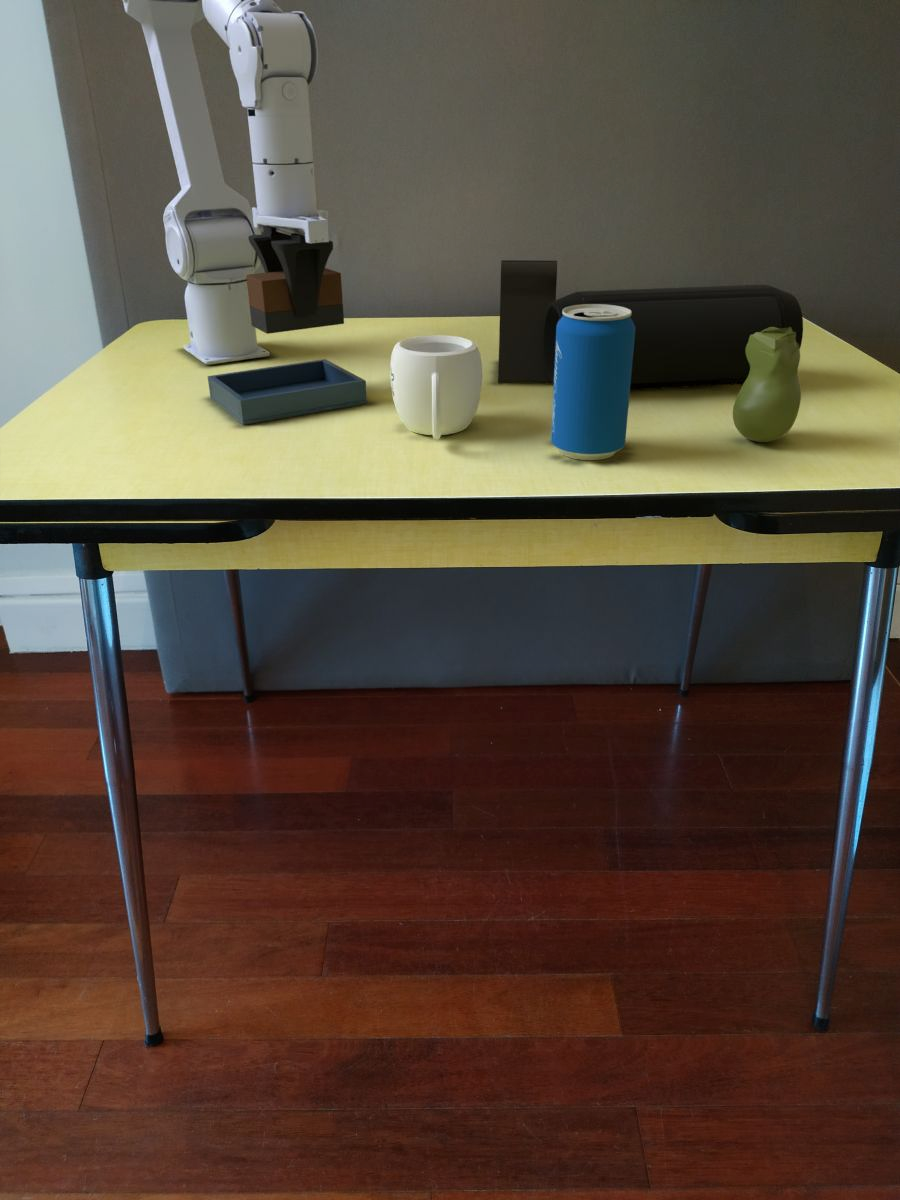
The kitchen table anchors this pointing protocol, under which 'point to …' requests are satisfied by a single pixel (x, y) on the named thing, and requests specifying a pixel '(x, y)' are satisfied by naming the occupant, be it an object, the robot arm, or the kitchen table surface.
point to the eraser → (275, 306)
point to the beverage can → (592, 380)
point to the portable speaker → (687, 330)
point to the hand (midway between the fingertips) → (296, 310)
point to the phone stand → (524, 319)
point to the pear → (769, 386)
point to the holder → (286, 391)
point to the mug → (436, 383)
